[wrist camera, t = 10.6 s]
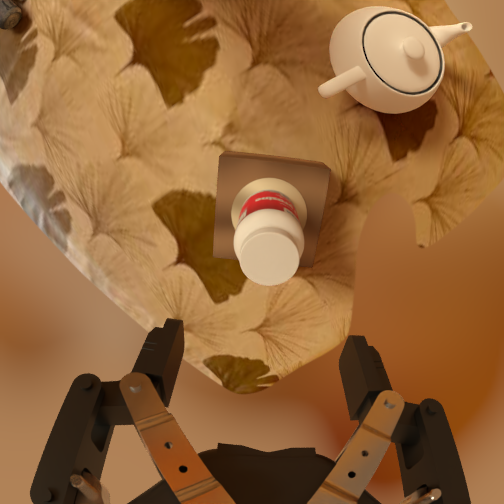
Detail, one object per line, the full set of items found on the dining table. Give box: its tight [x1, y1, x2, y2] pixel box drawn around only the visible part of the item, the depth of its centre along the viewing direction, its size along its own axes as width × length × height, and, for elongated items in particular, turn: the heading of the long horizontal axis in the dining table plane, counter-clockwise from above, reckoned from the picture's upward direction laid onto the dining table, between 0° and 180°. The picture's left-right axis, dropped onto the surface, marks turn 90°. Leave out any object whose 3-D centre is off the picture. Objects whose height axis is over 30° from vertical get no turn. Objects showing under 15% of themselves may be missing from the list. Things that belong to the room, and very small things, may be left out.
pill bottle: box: [234, 189, 304, 286], centre depth 28 cm, size 6×6×11 cm
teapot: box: [318, 6, 472, 114], centre depth 24 cm, size 22×14×11 cm, turn 124°
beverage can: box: [0, 0, 21, 29], centre depth 20 cm, size 9×8×12 cm
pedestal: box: [213, 151, 331, 268], centre depth 36 cm, size 12×12×5 cm
